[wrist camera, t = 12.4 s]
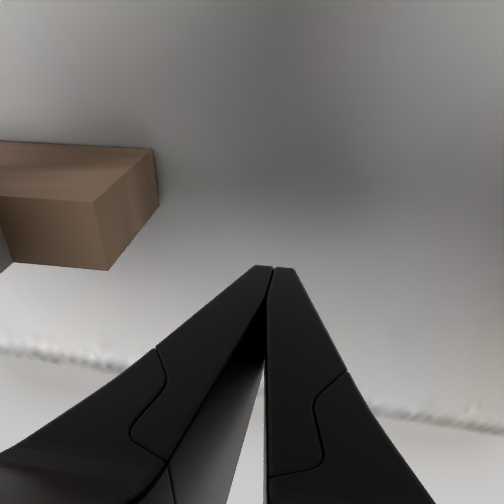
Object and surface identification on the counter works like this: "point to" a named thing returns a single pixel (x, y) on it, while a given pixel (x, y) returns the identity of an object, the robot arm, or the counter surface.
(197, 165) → the counter surface
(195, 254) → the counter surface
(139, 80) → the counter surface
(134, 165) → the door
